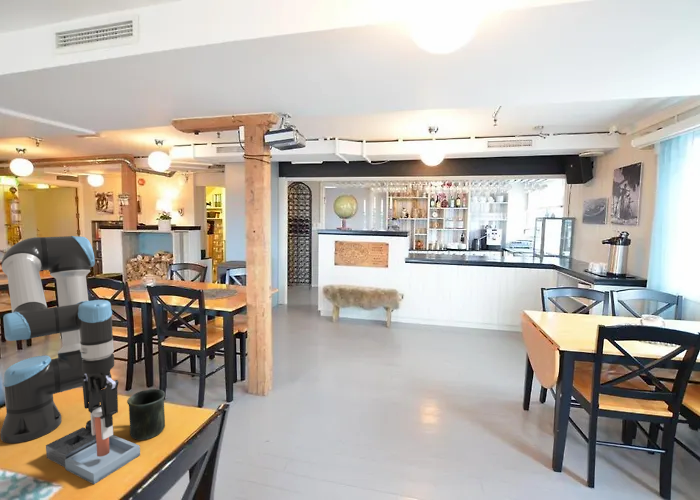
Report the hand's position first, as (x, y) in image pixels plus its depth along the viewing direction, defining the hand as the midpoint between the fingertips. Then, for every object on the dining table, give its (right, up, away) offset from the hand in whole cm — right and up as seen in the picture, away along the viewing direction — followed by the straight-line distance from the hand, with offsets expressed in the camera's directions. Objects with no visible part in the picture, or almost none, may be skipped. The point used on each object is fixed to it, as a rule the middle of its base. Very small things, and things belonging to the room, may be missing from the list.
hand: (102, 434), depth 103 cm
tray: (0, -8, +1) cm, 9 cm away
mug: (+3, -7, +17) cm, 19 cm away
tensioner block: (-11, -8, +5) cm, 15 cm away
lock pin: (0, -6, 0) cm, 6 cm away
